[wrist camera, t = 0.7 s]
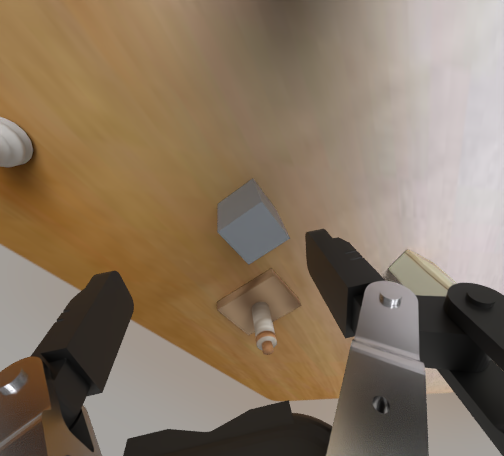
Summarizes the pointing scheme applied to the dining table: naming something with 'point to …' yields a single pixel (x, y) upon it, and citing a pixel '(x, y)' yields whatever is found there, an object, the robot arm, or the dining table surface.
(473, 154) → the dining table surface
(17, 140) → the rook chess piece
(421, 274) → the skincare box
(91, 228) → the dining table surface
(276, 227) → the blue-grey rectangular block
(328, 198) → the dining table surface
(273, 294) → the wooden stand with post
